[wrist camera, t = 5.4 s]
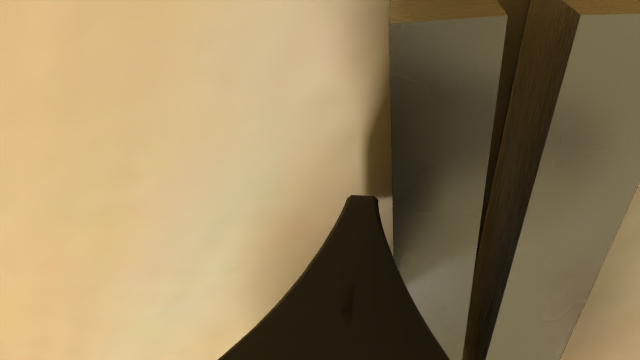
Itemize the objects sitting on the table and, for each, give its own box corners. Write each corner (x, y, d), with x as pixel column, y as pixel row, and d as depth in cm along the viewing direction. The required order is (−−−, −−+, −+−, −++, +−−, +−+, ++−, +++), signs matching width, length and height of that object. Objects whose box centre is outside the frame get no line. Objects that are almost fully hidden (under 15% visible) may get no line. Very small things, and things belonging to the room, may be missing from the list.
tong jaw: (453, 411, 18) (460, 482, 16) (386, 405, 19) (384, 473, 17) (508, -22, 9) (544, 14, 6) (366, -10, 9) (357, 27, 7)
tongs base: (489, 413, 18) (506, 512, 16) (379, 401, 19) (376, 494, 16) (634, -27, 8) (753, 28, 6) (393, -17, 9) (391, 36, 6)
